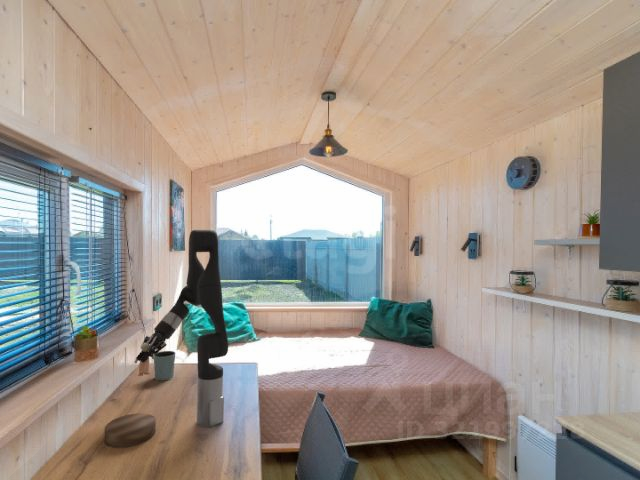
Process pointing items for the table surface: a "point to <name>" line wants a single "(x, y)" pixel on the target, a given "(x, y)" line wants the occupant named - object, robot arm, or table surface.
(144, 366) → the grandmother figurine
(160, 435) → the table surface
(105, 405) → the table surface
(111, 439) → the walnut plinth
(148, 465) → the table surface
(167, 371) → the grey-green cup
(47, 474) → the table surface
